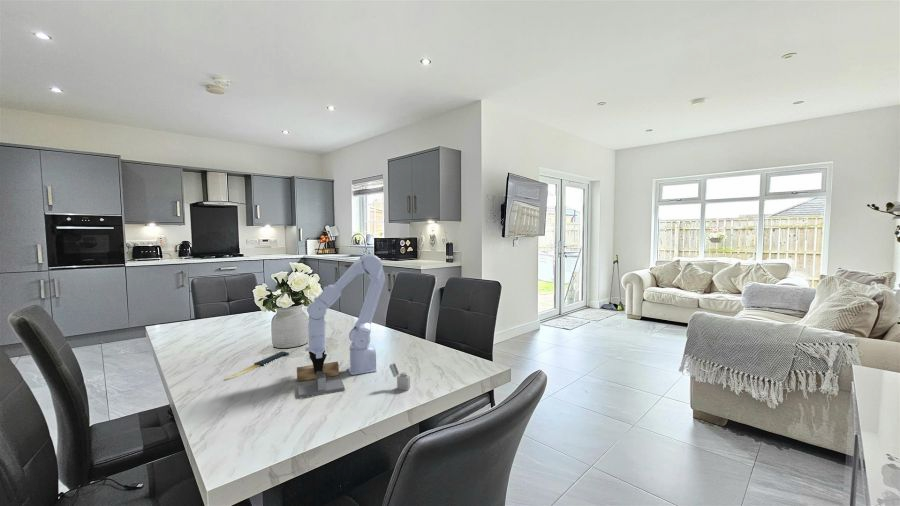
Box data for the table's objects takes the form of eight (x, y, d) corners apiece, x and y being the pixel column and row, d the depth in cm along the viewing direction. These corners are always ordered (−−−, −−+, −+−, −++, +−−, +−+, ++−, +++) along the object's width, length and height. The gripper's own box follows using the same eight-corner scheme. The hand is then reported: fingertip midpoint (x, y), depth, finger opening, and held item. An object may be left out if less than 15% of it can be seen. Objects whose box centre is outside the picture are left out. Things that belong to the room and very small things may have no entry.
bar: (337, 372, 137) (337, 361, 137) (338, 374, 134) (338, 364, 134) (296, 378, 131) (296, 367, 131) (297, 381, 129) (296, 370, 128)
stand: (341, 381, 128) (340, 367, 128) (344, 390, 121) (344, 375, 121) (297, 388, 123) (297, 374, 122) (298, 398, 115) (298, 382, 115)
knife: (289, 352, 158) (230, 378, 130) (289, 355, 159) (230, 382, 130) (280, 351, 160) (220, 376, 131) (280, 355, 160) (220, 381, 131)
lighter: (410, 388, 122) (410, 364, 122) (407, 390, 120) (407, 366, 120) (392, 385, 125) (391, 362, 124) (389, 387, 123) (389, 363, 123)
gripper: (304, 331, 137) (305, 367, 138) (306, 341, 124) (307, 381, 124) (323, 329, 140) (324, 364, 141) (328, 338, 127) (329, 377, 127)
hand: (318, 372), depth 133 cm, fingers closed on bar, 3 cm apart
